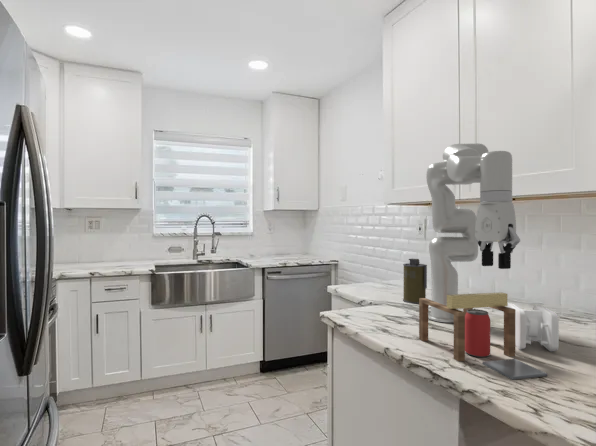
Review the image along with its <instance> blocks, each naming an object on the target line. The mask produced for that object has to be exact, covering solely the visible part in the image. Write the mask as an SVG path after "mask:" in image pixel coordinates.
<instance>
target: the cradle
mask: <svg viewBox="0 0 596 446" xmlns="http://www.w3.org/2000/svg"><path fill="white" fill-rule="evenodd" d="M429 305H430V306H432V307H435V308H438V309H440V310H443V311H445V312H448V313H451V314H453V315H454V323H453V360H455V361H457V362H465V361H466V360H465V359H466V352H465V315H466V313H467V310H469V309H474V308H463V310H461V309H460V310H459V309H458V310H457V309H450V308H447V306H446V305H443V304H440V303H437V302H435V301H432V299H428V298H419V303H418V339H419V340H420V341H422V342H428V341H429V318H428V313H429V308H428V306H429ZM489 308H491V309H494V310H498V311H501V312H503V355H504V356H507V357H516V345H515V309H512V308H509V307H506V306H499V307H489Z"/></svg>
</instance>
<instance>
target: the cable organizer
mask: <svg viewBox="0 0 596 446" xmlns="http://www.w3.org/2000/svg"><path fill="white" fill-rule="evenodd" d="M505 307H509V308H512V309H515V348H517V349H518V350H520V351H521V350H523V349H525V348H526V347H527V344H530V345H529V346H531V344H532V342H538V343H539V344H540V346H541V347H545V348H546V350H548V351H549V352H552V353H553V352H557V351H558V350H559V345H560V344H559V336H560V335H559V332H560V329H559V328H560V324H559V322H560V321H559V315H558V314H557V312H555V311H553V310H551V309H549V308H547V307H546V306H545V305H542V304H534V305H533V306H532V309H525V308H523V309H522V308H521V307H519V306H517V305H516V304H514V303H511V302H510V303H509V302H507V306H505Z"/></svg>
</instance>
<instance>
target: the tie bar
mask: <svg viewBox="0 0 596 446" xmlns="http://www.w3.org/2000/svg"><path fill="white" fill-rule="evenodd" d="M507 303H508V293H506V292H501V291H499V292H480V293H458V294H455V295H447V308H450V309H458V310H459V309H460V310H461V309H463V308H473V309H479V308H490V307H499V306H505V307H506V306H507Z"/></svg>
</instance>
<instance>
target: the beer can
mask: <svg viewBox="0 0 596 446" xmlns="http://www.w3.org/2000/svg"><path fill="white" fill-rule="evenodd" d="M465 354H467V355H469V356H472V357H476V358H477V357H478V358H487V357H490V355H491V317H490V316H489V312H488V311H487V310H483V309H479V308H473V309H469V310H467V313H466V315H465Z"/></svg>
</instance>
